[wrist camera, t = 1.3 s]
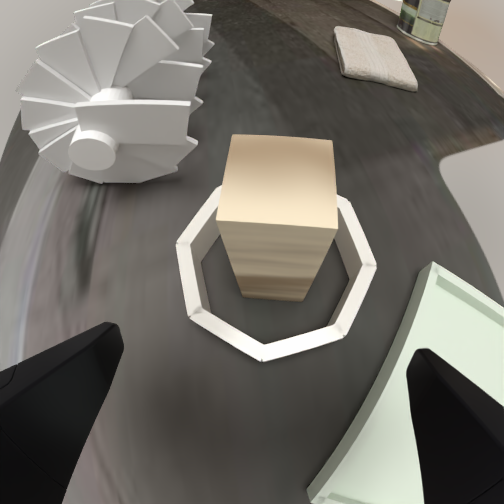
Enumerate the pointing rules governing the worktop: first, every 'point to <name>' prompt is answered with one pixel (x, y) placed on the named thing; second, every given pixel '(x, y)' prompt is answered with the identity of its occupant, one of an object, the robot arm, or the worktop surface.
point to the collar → (360, 274)
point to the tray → (397, 398)
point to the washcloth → (372, 58)
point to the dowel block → (277, 213)
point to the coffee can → (423, 19)
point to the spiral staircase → (118, 90)
